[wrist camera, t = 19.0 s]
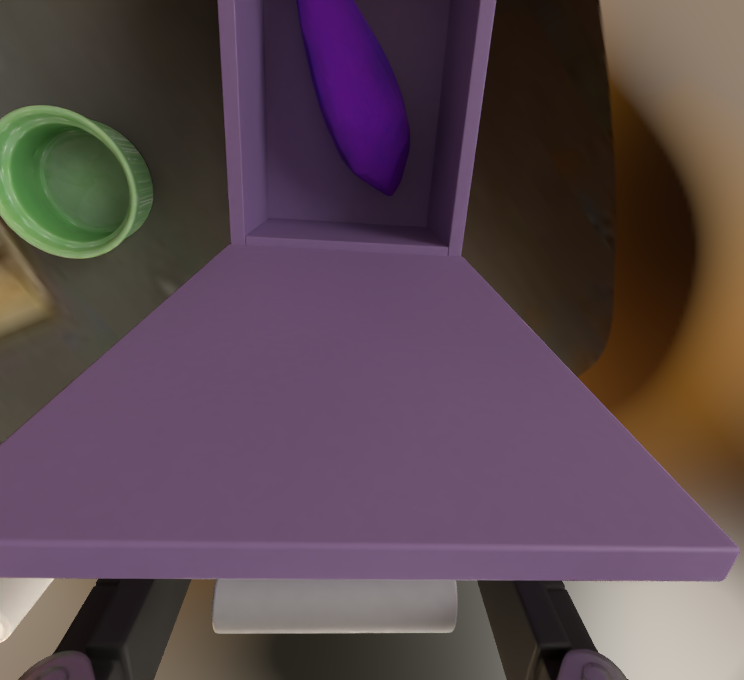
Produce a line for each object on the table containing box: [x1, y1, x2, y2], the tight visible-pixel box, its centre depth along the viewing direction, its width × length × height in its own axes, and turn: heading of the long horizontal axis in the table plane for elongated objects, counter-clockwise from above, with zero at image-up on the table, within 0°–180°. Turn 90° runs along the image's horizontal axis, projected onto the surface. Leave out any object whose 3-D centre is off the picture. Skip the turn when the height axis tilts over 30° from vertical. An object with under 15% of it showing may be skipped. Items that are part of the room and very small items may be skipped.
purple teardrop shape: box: [296, 0, 410, 196], centre depth 27 cm, size 5×5×15 cm
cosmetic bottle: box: [0, 578, 54, 643], centre depth 30 cm, size 6×6×22 cm
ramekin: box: [0, 105, 153, 259], centre depth 30 cm, size 9×9×4 cm
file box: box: [217, 0, 496, 257], centre depth 26 cm, size 19×13×9 cm
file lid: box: [0, 244, 740, 633], centre depth 17 cm, size 20×13×5 cm
